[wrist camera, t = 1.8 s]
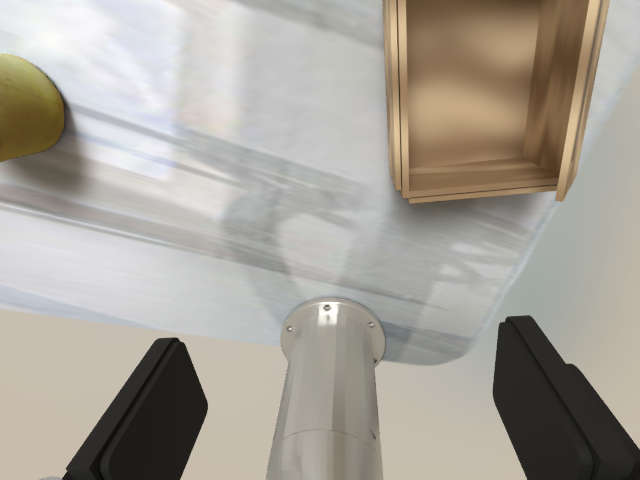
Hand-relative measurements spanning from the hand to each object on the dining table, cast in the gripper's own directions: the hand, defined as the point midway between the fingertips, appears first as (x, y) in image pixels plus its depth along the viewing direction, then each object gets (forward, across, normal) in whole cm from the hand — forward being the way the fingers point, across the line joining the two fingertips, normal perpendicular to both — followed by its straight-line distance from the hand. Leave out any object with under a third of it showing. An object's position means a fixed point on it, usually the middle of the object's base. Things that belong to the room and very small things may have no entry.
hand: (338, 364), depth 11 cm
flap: (+19, -17, -6) cm, 26 cm away
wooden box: (+26, -10, -6) cm, 29 cm away
